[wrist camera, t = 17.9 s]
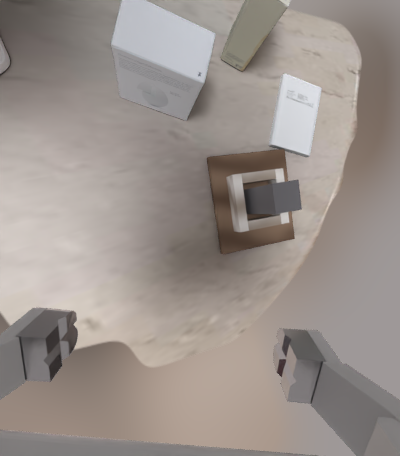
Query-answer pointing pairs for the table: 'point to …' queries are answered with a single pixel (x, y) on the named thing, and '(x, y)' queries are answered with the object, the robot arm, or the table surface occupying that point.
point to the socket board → (235, 202)
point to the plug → (273, 198)
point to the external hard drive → (295, 115)
